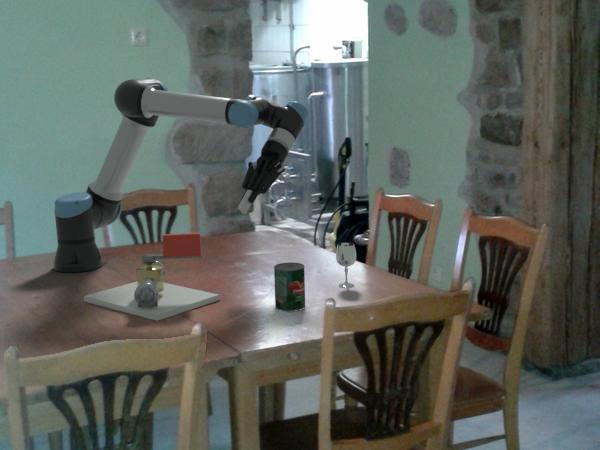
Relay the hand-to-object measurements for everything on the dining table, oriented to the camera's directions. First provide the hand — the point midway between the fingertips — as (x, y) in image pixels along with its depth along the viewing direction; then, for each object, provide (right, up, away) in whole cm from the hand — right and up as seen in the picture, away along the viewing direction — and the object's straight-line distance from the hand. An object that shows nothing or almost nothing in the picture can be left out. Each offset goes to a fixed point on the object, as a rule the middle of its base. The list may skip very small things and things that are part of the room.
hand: (241, 210), depth 224 cm
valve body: (-24, -23, -11) cm, 35 cm away
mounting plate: (-24, -25, -10) cm, 36 cm away
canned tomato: (+14, -26, -19) cm, 35 cm away
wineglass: (+30, -22, 0) cm, 37 cm away
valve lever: (-18, -14, -12) cm, 26 cm away
